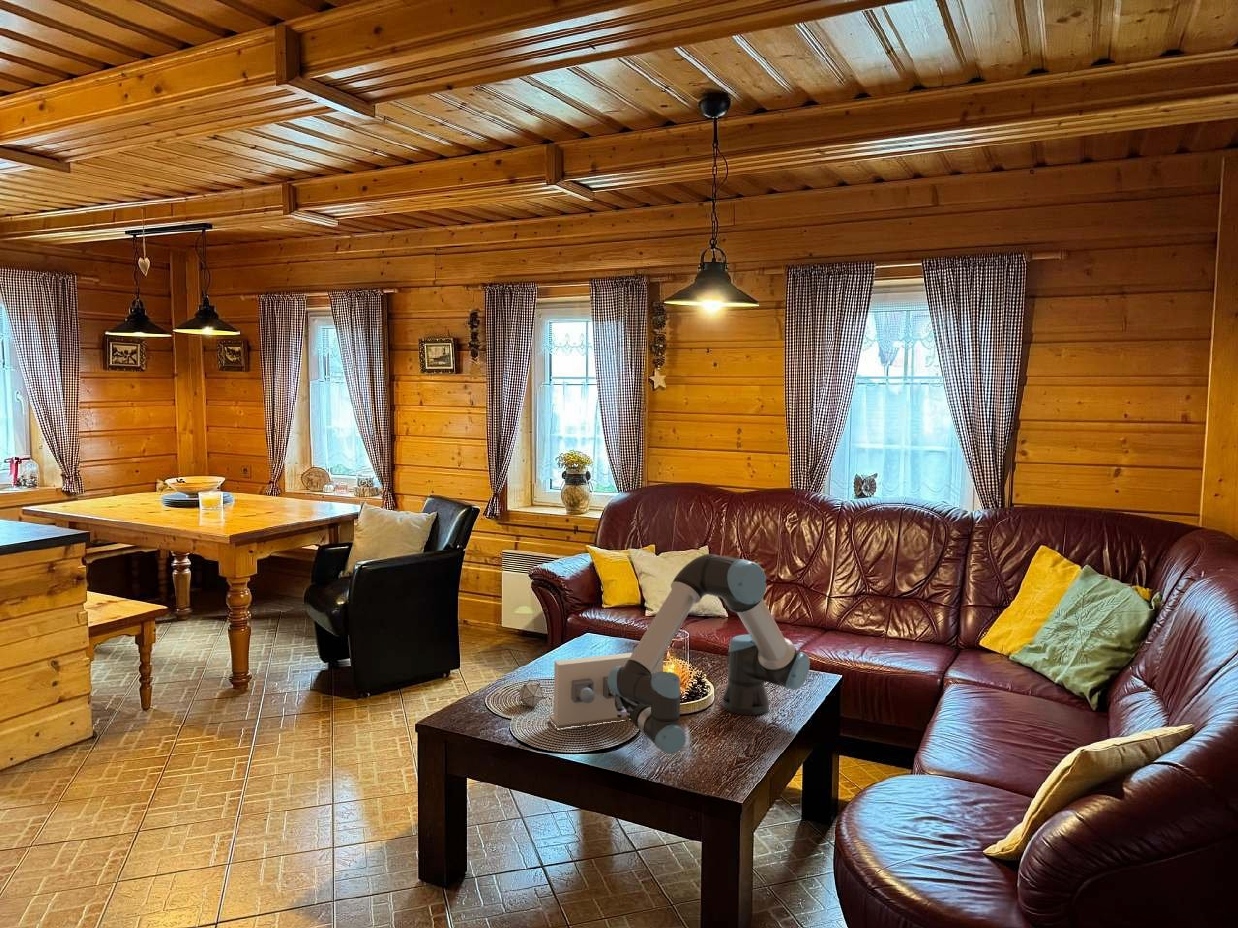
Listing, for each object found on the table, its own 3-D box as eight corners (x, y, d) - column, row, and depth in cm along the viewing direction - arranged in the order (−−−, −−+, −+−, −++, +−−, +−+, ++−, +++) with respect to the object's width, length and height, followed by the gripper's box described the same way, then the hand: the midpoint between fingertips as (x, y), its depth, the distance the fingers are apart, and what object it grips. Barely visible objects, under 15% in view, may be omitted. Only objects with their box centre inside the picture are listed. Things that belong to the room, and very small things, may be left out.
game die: (537, 717, 267) (555, 694, 264) (518, 714, 260) (536, 691, 258) (525, 696, 273) (543, 674, 270) (506, 693, 266) (525, 670, 264)
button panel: (549, 720, 255) (550, 656, 253) (651, 706, 267) (652, 645, 266) (560, 734, 244) (561, 668, 243) (665, 719, 257) (667, 656, 255)
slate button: (579, 701, 244) (579, 688, 244) (592, 699, 245) (592, 686, 245) (581, 703, 242) (581, 690, 242) (594, 702, 244) (594, 688, 243)
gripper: (626, 736, 225) (595, 704, 246) (670, 729, 230) (636, 699, 251) (627, 709, 224) (596, 680, 246) (671, 703, 229) (636, 675, 251)
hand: (616, 689), depth 249 cm, fingers closed
